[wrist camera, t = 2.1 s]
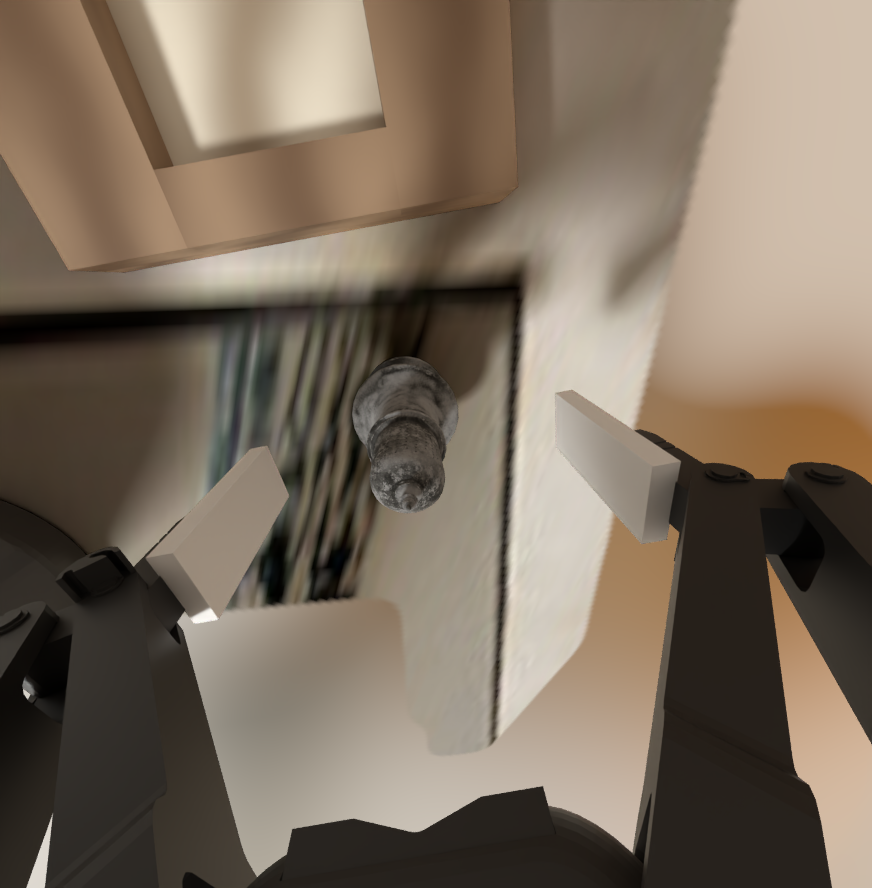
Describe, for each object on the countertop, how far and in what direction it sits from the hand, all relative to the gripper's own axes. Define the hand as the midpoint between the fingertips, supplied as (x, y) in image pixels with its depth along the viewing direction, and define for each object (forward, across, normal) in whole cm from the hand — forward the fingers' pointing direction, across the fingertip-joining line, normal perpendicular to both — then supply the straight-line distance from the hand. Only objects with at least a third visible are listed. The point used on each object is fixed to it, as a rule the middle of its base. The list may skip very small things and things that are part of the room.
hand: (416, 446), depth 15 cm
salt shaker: (+7, -1, 0) cm, 7 cm away
